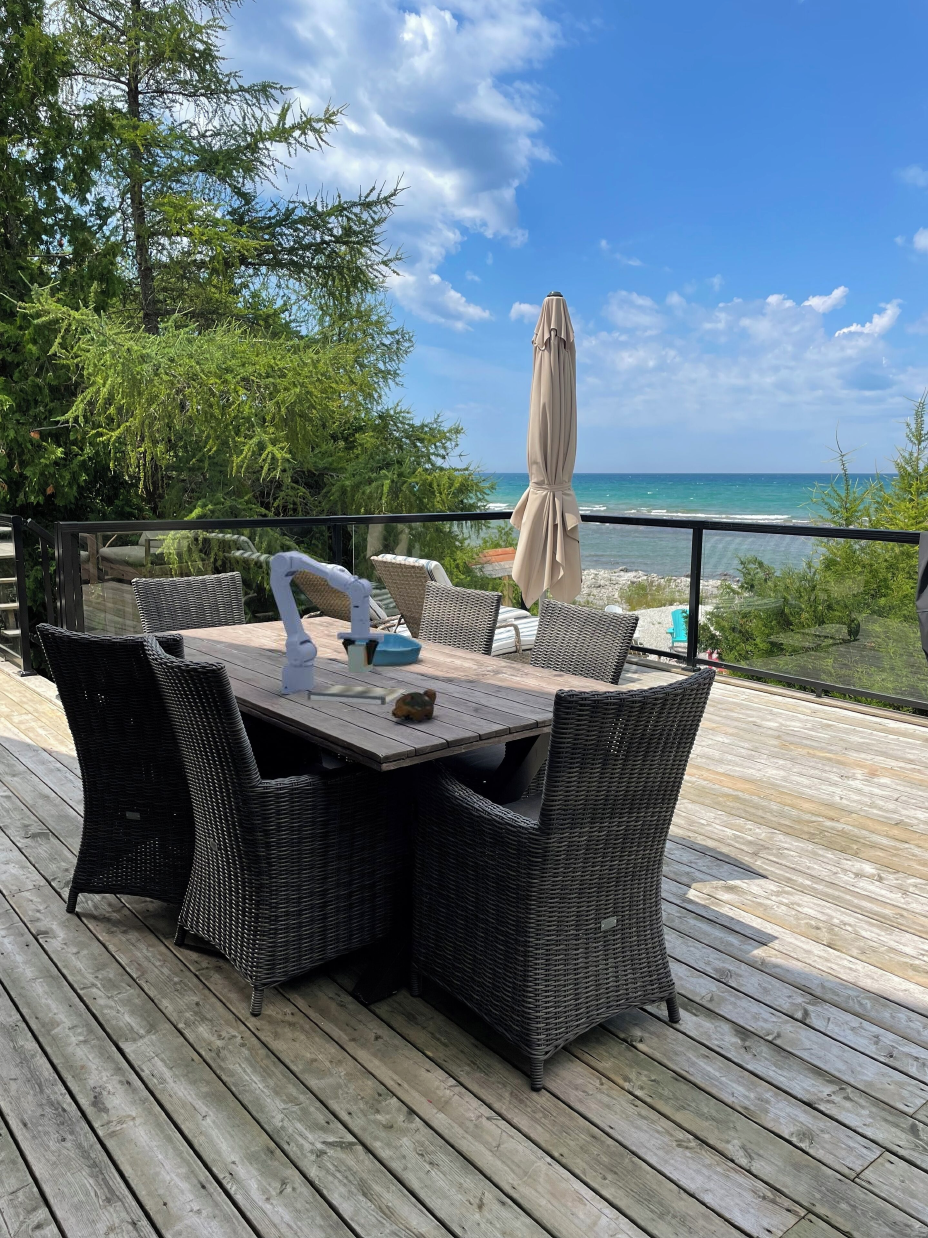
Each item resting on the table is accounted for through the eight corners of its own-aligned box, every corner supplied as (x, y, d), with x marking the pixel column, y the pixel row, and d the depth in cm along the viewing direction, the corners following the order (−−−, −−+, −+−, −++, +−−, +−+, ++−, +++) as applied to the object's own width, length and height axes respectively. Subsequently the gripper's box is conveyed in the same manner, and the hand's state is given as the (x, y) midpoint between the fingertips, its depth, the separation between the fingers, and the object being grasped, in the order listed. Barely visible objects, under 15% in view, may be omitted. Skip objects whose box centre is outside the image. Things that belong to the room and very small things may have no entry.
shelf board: (310, 703, 269) (310, 698, 269) (334, 690, 286) (334, 685, 286) (386, 708, 263) (386, 703, 263) (406, 694, 280) (406, 689, 280)
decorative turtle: (446, 717, 253) (446, 690, 251) (408, 731, 242) (407, 703, 241) (421, 709, 260) (421, 683, 258) (383, 723, 249) (382, 695, 247)
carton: (348, 672, 273) (347, 646, 272) (357, 668, 279) (357, 642, 278) (364, 673, 271) (364, 647, 270) (373, 669, 278) (373, 643, 277)
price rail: (307, 704, 268) (307, 692, 267) (309, 703, 269) (309, 691, 268) (384, 709, 261) (384, 697, 261) (385, 708, 263) (385, 696, 262)
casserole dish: (430, 665, 327) (430, 646, 326) (370, 670, 319) (370, 650, 318) (397, 648, 361) (396, 631, 360) (342, 652, 352) (342, 634, 351)
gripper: (332, 620, 271) (333, 664, 273) (377, 622, 267) (378, 667, 269) (342, 617, 278) (343, 660, 280) (386, 619, 274) (386, 663, 276)
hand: (360, 663), depth 275 cm, fingers closed on carton, 5 cm apart
